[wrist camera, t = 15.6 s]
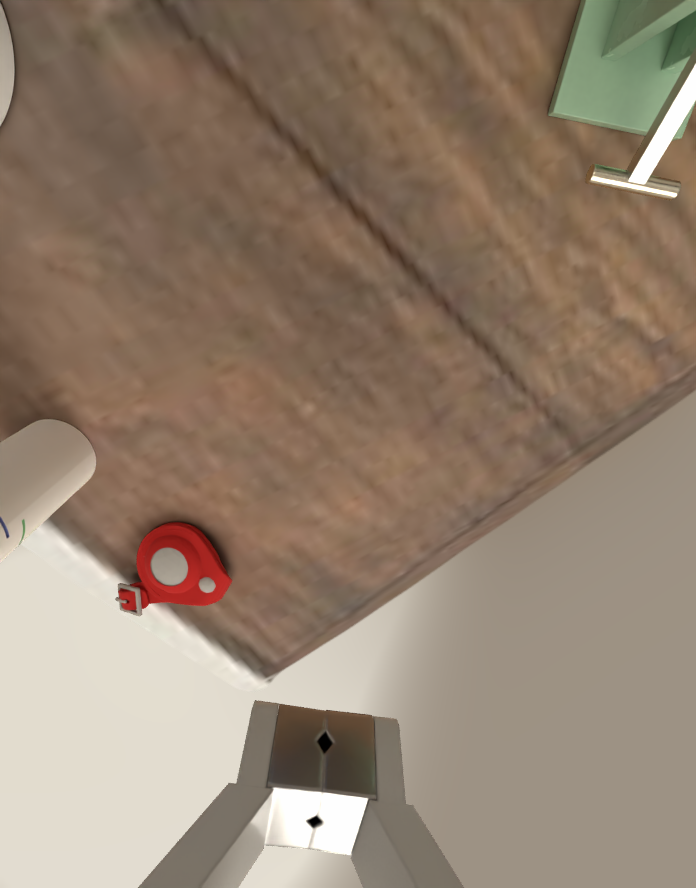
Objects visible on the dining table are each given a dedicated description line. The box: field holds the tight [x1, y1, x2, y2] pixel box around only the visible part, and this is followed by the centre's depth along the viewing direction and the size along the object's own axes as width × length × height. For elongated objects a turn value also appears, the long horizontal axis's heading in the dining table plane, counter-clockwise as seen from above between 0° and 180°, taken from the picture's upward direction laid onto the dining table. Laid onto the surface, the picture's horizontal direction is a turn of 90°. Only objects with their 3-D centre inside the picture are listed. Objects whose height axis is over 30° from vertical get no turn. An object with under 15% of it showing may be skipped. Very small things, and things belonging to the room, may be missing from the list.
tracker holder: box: [115, 522, 232, 616], centre depth 51 cm, size 12×4×10 cm
